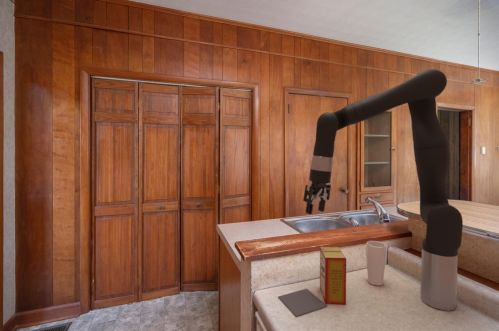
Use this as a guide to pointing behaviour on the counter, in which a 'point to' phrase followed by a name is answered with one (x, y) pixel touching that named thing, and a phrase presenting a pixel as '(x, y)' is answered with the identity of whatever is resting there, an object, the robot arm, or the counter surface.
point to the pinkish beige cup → (375, 262)
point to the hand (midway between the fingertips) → (315, 212)
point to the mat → (302, 302)
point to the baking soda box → (333, 275)
